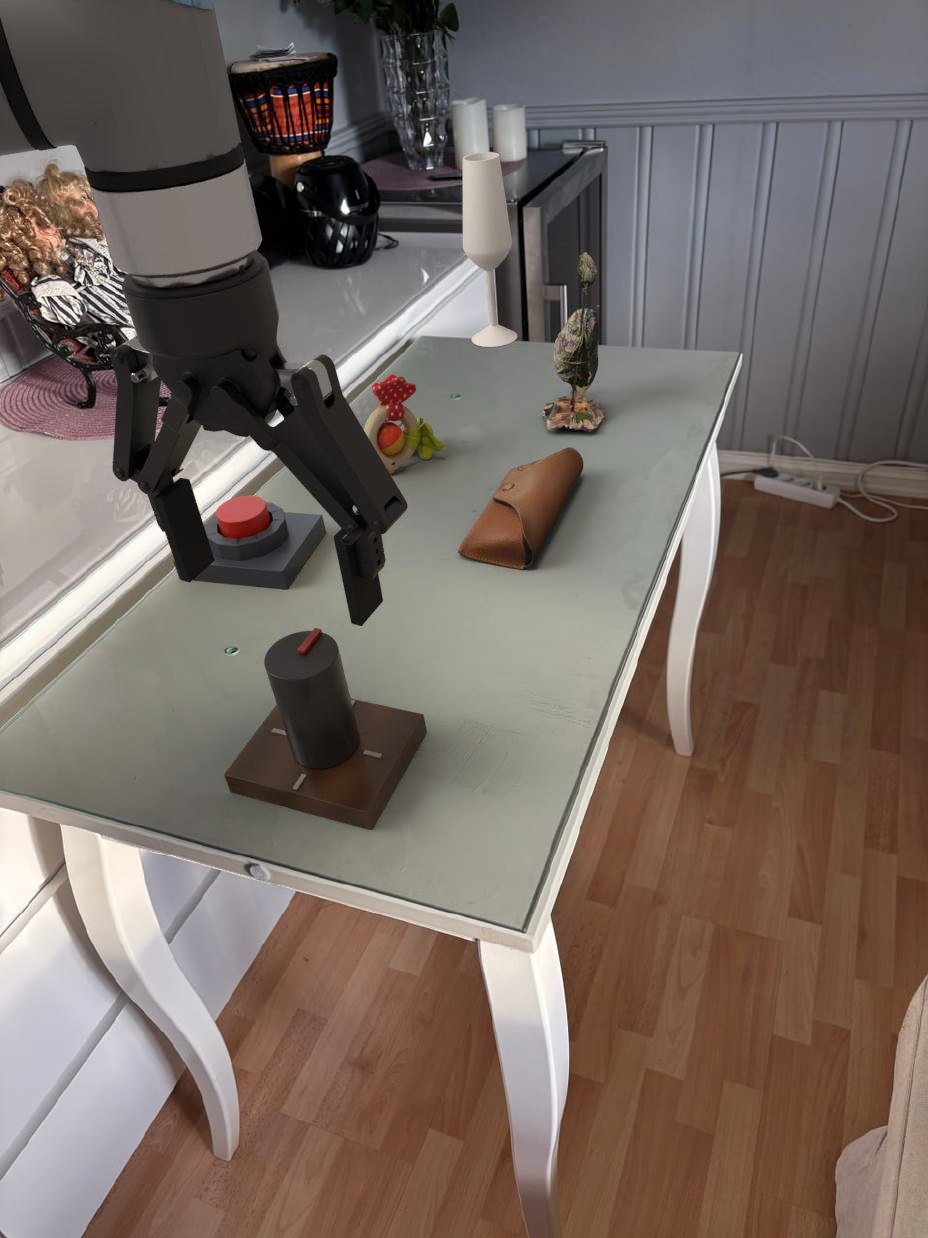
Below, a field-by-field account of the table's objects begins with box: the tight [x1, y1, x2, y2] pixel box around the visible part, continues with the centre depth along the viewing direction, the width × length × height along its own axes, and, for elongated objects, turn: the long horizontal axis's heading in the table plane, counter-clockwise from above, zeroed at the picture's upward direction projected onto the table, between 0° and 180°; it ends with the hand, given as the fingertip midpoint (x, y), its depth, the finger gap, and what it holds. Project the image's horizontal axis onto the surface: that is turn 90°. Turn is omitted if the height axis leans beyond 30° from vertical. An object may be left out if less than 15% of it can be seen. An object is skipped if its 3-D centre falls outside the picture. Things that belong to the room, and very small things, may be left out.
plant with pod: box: [540, 251, 606, 433], centre depth 104 cm, size 8×11×20 cm
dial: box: [263, 627, 360, 769], centre depth 66 cm, size 5×5×9 cm
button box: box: [172, 501, 327, 590], centre depth 92 cm, size 12×10×4 cm
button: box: [215, 494, 270, 539], centre depth 91 cm, size 5×5×2 cm
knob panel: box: [223, 698, 428, 831], centre depth 69 cm, size 12×10×2 cm
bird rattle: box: [363, 374, 445, 475], centre depth 102 cm, size 6×11×9 cm
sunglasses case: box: [457, 447, 584, 571], centre depth 93 cm, size 18×7×7 cm, turn 160°
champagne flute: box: [462, 151, 518, 348], centre depth 124 cm, size 7×7×24 cm
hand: (279, 590), depth 60 cm, fingers open, 13 cm apart
